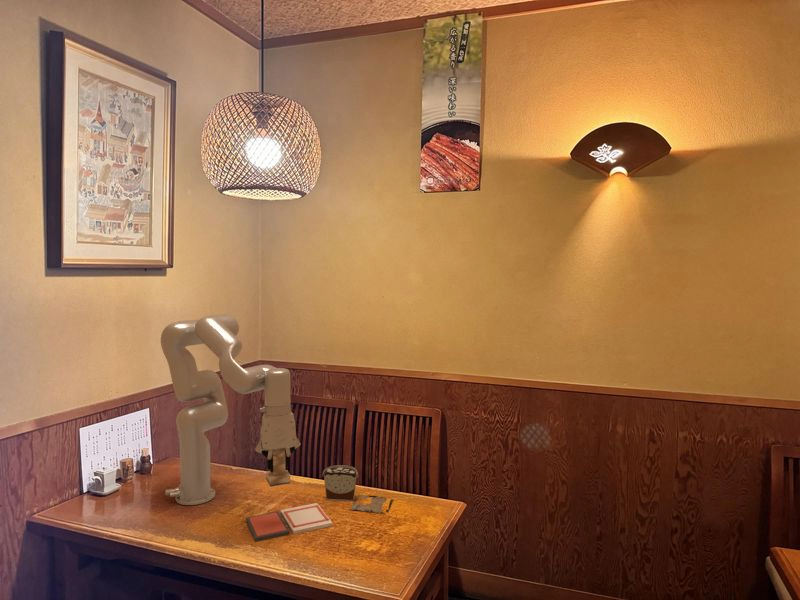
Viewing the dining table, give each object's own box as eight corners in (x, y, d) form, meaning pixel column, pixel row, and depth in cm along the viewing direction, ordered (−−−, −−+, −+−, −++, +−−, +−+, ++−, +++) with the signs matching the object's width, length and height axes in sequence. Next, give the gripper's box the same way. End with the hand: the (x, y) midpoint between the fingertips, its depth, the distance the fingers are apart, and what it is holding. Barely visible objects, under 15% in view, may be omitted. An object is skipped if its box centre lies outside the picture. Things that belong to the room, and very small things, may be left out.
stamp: (270, 486, 158) (269, 449, 158) (266, 479, 164) (265, 443, 163) (290, 483, 161) (290, 446, 160) (285, 476, 166) (285, 440, 166)
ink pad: (255, 541, 153) (255, 537, 153) (245, 520, 166) (245, 517, 166) (289, 534, 158) (289, 530, 158) (278, 514, 170) (277, 510, 170)
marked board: (293, 534, 158) (293, 530, 158) (280, 513, 171) (280, 509, 171) (332, 525, 163) (332, 522, 163) (316, 506, 177) (316, 502, 177)
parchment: (387, 515, 171) (387, 512, 171) (348, 511, 174) (348, 508, 174) (395, 499, 183) (395, 496, 183) (358, 495, 186) (358, 492, 186)
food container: (361, 493, 187) (361, 465, 186) (357, 501, 181) (358, 472, 180) (326, 491, 188) (326, 463, 187) (322, 499, 182) (322, 470, 181)
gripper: (251, 416, 154) (252, 478, 155) (308, 409, 161) (308, 469, 162) (247, 409, 161) (247, 469, 162) (301, 404, 168) (302, 461, 169)
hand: (278, 469), depth 162 cm, fingers closed on stamp, 3 cm apart
